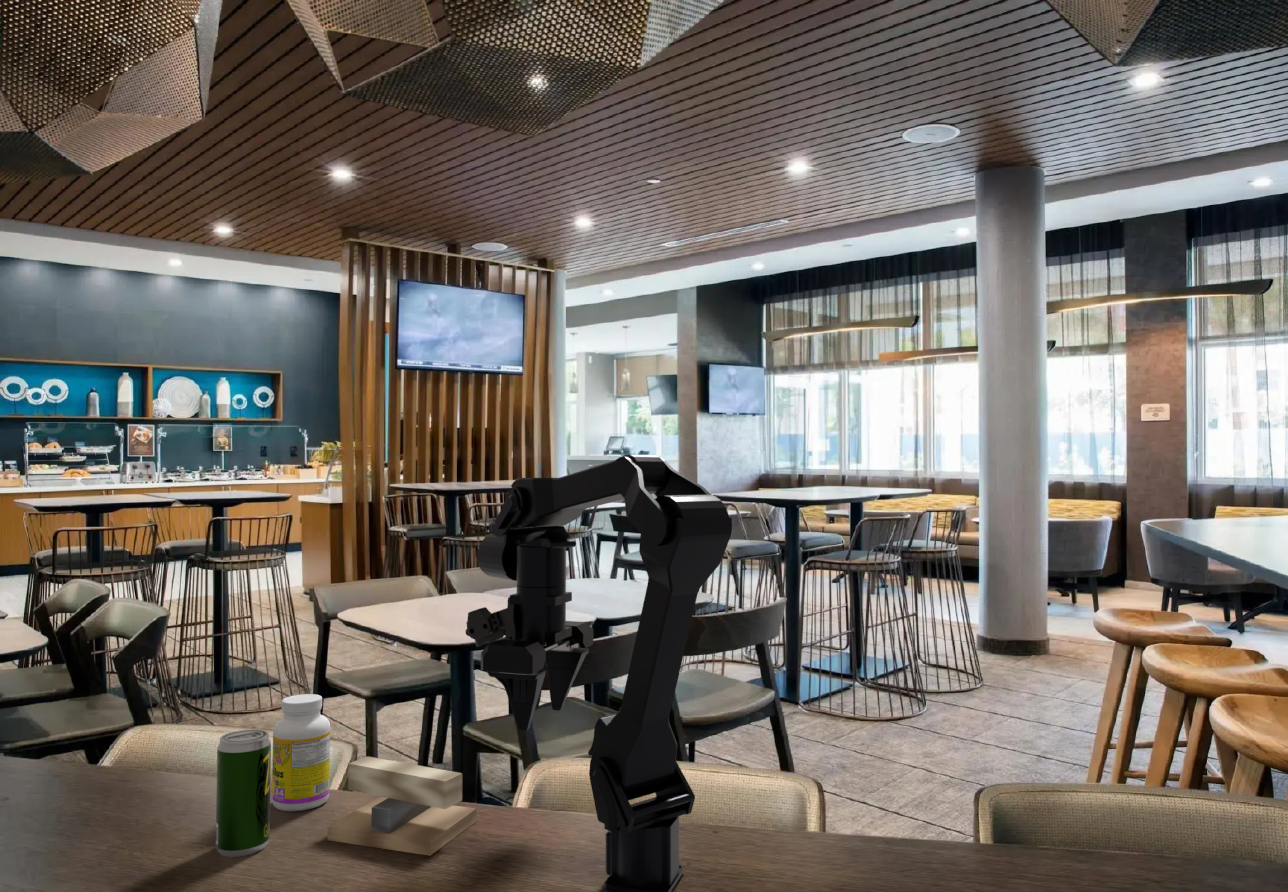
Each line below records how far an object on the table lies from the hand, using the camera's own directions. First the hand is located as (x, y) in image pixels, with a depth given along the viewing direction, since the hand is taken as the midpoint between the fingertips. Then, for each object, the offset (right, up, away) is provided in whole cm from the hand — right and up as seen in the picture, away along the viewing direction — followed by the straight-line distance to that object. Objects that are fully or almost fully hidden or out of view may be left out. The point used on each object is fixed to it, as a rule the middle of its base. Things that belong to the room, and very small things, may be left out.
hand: (540, 719), depth 104 cm
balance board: (-15, -12, -2) cm, 20 cm away
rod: (-15, -8, -2) cm, 17 cm away
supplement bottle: (-30, -13, +6) cm, 33 cm away
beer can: (-32, -12, -7) cm, 34 cm away
